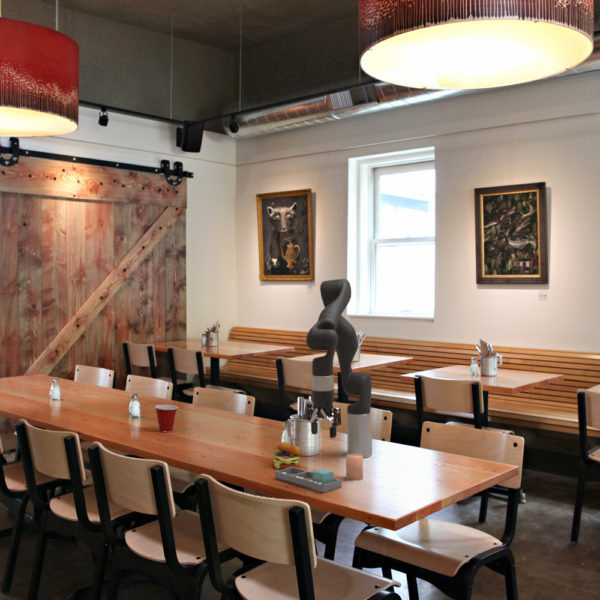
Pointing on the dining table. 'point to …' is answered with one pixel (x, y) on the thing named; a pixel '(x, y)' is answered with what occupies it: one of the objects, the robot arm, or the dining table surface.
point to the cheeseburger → (287, 456)
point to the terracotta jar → (354, 467)
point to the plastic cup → (166, 416)
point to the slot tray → (306, 479)
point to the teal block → (323, 476)
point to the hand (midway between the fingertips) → (323, 435)
